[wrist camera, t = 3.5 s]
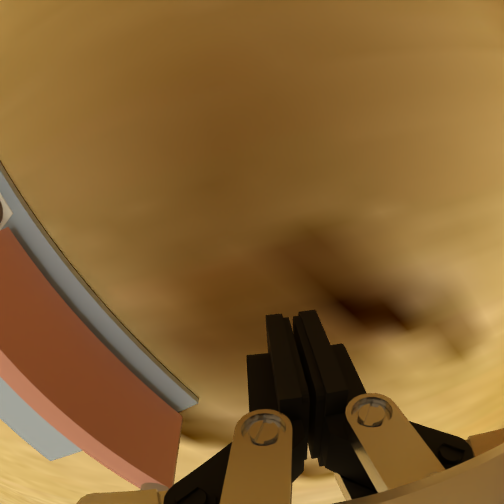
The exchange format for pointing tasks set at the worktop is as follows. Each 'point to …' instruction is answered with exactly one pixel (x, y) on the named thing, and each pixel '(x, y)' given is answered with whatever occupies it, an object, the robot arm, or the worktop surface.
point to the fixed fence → (1, 212)
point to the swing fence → (80, 378)
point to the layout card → (90, 313)
